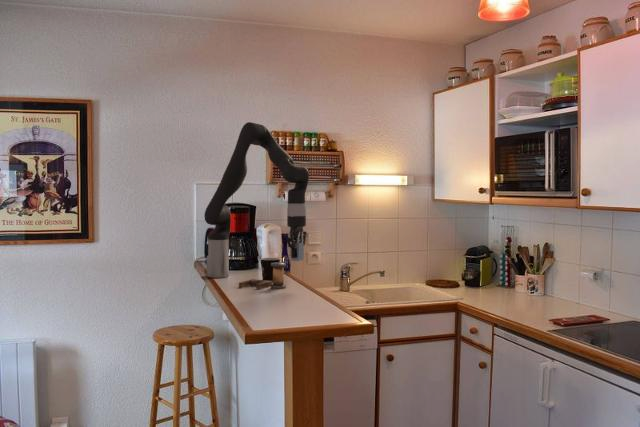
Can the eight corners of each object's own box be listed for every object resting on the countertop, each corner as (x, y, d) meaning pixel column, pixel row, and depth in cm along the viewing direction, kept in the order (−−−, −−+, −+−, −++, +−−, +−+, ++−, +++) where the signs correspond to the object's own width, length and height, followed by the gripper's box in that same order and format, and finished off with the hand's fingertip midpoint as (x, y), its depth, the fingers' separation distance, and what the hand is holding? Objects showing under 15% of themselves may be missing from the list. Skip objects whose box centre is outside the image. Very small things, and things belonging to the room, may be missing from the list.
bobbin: (268, 288, 219) (268, 263, 218) (275, 285, 224) (275, 262, 224) (281, 289, 216) (281, 264, 216) (288, 287, 221) (288, 263, 221)
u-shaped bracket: (239, 287, 220) (239, 282, 220) (252, 283, 229) (252, 279, 229) (259, 289, 216) (260, 284, 215) (272, 285, 225) (272, 280, 225)
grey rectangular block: (290, 260, 216) (290, 243, 216) (294, 259, 220) (294, 242, 219) (299, 261, 214) (299, 243, 214) (303, 259, 218) (303, 242, 218)
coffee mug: (278, 283, 231) (279, 260, 230) (258, 283, 231) (259, 260, 231) (281, 279, 242) (281, 257, 242) (262, 278, 243) (262, 256, 242)
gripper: (296, 214, 224) (296, 255, 225) (279, 215, 212) (280, 258, 212) (312, 214, 221) (312, 256, 222) (296, 215, 208) (297, 259, 209)
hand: (296, 257), depth 217 cm, fingers closed on grey rectangular block, 4 cm apart
